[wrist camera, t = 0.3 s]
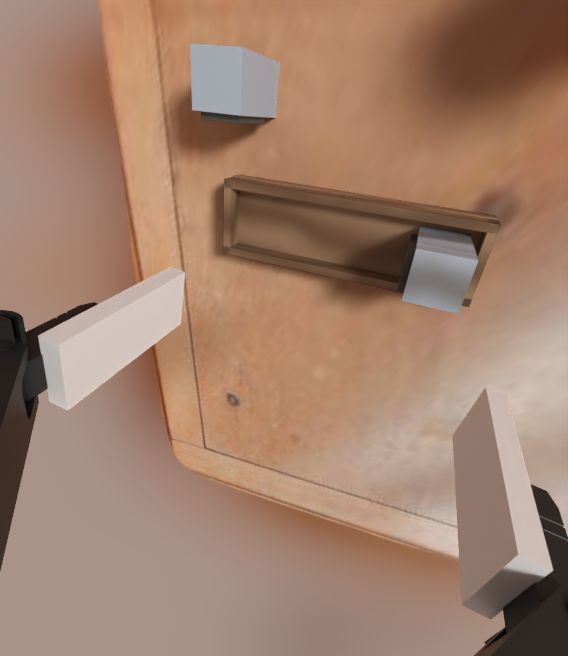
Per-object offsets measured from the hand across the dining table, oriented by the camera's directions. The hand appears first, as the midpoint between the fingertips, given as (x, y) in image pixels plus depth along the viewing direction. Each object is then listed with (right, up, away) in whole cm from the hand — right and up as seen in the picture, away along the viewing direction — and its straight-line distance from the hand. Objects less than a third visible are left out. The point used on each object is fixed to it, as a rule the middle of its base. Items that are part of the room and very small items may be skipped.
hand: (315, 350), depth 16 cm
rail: (+6, +11, +24) cm, 27 cm away
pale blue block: (-4, +24, +20) cm, 32 cm away
